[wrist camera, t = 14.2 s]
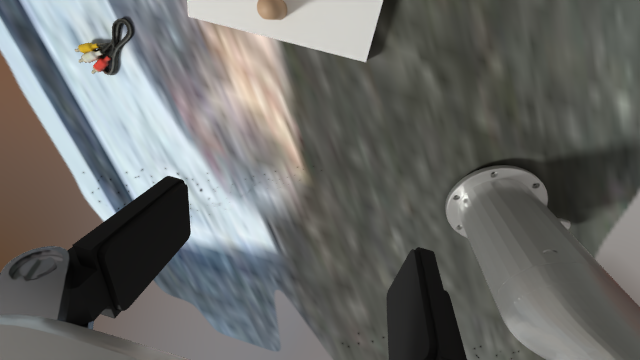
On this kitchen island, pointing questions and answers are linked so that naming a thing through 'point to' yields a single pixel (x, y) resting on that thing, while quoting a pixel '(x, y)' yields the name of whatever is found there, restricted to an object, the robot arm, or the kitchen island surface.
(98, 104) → the kitchen island surface
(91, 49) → the composite cable
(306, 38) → the plate
